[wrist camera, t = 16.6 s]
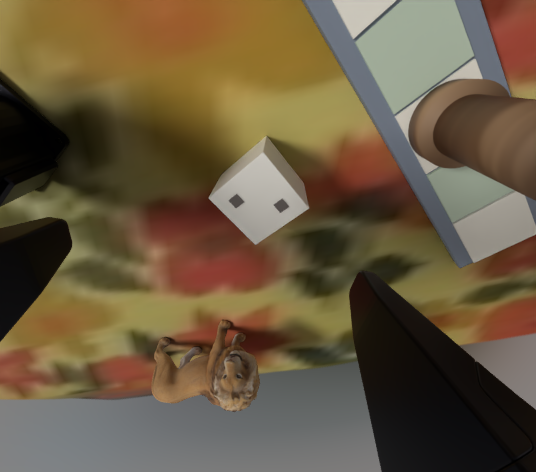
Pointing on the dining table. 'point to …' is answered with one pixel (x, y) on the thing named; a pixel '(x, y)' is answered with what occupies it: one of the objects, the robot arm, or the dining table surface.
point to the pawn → (478, 132)
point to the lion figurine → (208, 374)
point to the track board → (412, 92)
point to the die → (260, 192)
